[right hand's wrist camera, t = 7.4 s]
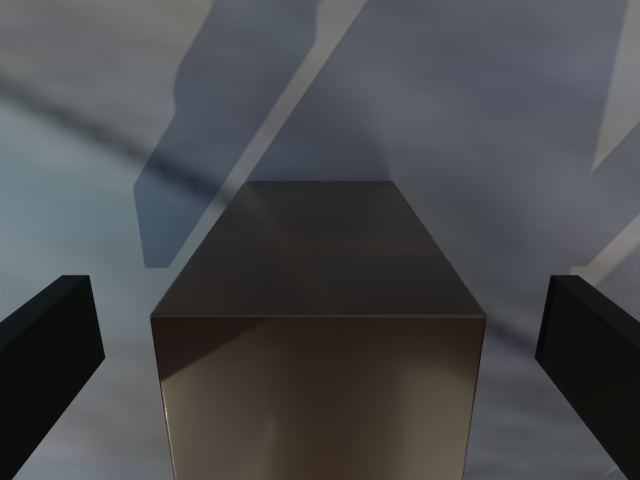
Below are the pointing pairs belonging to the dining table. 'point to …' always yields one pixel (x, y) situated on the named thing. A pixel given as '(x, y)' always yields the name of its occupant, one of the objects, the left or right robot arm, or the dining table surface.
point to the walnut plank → (318, 342)
